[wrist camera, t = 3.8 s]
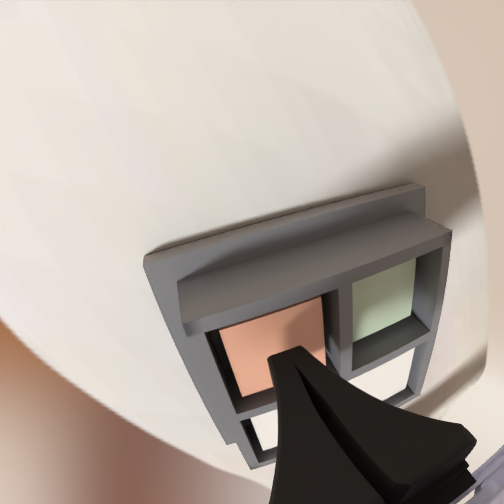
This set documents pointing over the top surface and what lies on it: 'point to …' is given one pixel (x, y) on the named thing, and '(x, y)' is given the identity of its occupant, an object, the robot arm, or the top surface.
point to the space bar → (372, 382)
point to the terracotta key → (272, 341)
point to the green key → (382, 299)
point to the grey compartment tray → (301, 295)
